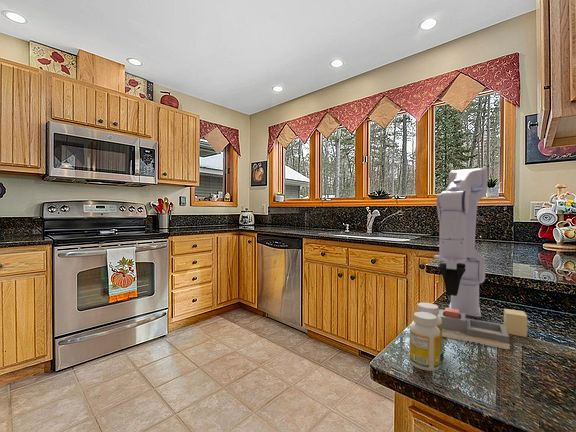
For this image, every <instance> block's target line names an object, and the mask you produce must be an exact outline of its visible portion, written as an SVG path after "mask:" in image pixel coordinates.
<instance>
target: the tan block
mask: <svg viewBox="0 0 576 432" xmlns="http://www.w3.org/2000/svg"><path fill="white" fill-rule="evenodd" d="M503 324H504V325H505V328H506V330H507V333H508V335H514V336H518V337H519V336H520V337H526V338H528V315H527V314H526V312H525V311H523V310H516V309H509V308H503Z"/></svg>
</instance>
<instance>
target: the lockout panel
mask: <svg viewBox="0 0 576 432" xmlns="http://www.w3.org/2000/svg"><path fill="white" fill-rule="evenodd" d="M438 309H439V308H438ZM437 315H438V316H439V317H440V318H441V319H442V338H448V339H454V340H457V341H458V340H459V341H462V340H463V341H464V342H467V341H469V342H468V343H472V342H475V343H474V344H477V343H480V344H479V345H482V344H485V345H484V346H487V345H490V346H489V347H492V346H494V347H493V348H497V347H498V349H504V350H508V349H509V350H511V347H510V346H511V345H510V334H508V333H507V330H506V328H505V325H504V323H497V322H490V321H484V320H480V319H473V318H467V317H466V316H467V315H465V313H459V318H453V317H447V316H445V309H439V312H438V314H437Z"/></svg>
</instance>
